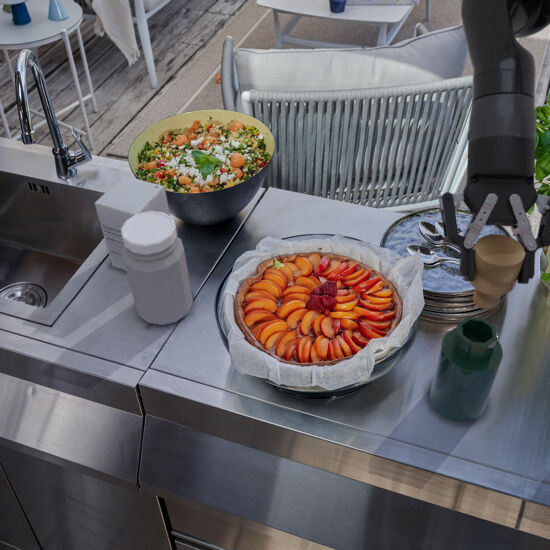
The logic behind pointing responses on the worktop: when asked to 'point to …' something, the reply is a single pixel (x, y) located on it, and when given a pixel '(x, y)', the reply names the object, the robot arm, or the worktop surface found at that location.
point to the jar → (156, 268)
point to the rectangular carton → (127, 210)
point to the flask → (466, 370)
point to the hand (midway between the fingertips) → (496, 281)
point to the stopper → (495, 268)
